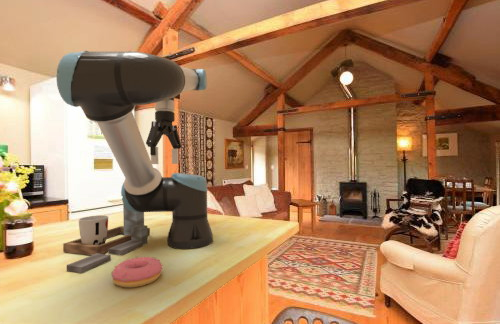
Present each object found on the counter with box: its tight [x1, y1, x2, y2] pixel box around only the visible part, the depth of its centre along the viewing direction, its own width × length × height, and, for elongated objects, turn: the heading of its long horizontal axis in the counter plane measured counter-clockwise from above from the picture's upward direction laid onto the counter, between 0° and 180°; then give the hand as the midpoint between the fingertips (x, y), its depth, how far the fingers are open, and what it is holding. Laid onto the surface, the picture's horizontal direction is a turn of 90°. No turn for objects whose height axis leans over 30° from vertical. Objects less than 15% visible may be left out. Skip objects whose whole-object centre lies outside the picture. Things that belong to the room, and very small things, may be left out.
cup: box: [78, 214, 109, 245], centre depth 84 cm, size 8×8×10 cm
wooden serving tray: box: [62, 204, 151, 256], centre depth 91 cm, size 13×25×12 cm, turn 162°
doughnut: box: [110, 256, 163, 288], centre depth 62 cm, size 11×11×4 cm
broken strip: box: [66, 224, 149, 274], centre depth 78 cm, size 5×25×6 cm, turn 162°
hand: (165, 164), depth 107 cm, fingers open, 13 cm apart
